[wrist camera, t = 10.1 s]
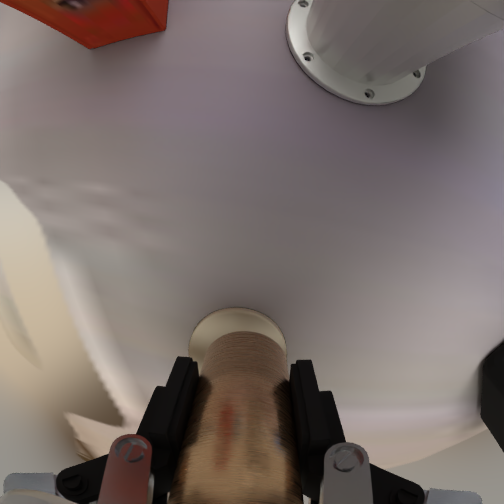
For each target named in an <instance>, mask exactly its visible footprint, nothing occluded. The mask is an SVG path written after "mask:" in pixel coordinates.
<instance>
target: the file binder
mask: <svg viewBox="0 0 504 504" xmlns="http://www.w3.org/2000/svg"><path fill="white" fill-rule="evenodd" d="M0 2H2V3H4V4H6V5H8V6H10V7H12V8H14V9H17V10H19V11H21V12H23V13H25V14H27V15H29V16H31V17H33V18H35V19H37V20H38V21H40V22H42V23H44V24H46V25H48V26H50V27H52V28H53V29H55V30H57V31H59V32H61V33H62V34H64V35H66V36H68V37H70V38H71V39H73V40H75V41H76V42H78V43H80V44H82V45H83V46H85V47H87V48H88V49H91V48H97V47H100V46H104V45H107V44H110V43H114V42H117V41H121V40H124V39H128V38H132V37H136V36H141V35H145V34H150V33H154V32H159V31H165V29H166V19H167V9H168V0H0Z"/></svg>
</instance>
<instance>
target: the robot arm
mask: <svg viewBox="0 0 504 504" xmlns="http://www.w3.org/2000/svg"><path fill="white" fill-rule="evenodd" d="M502 29H504V0H295V1H294V2H293V4H292V5H291V7H290V10H289V13H288V16H287V21H286V38H287V41H288V44H289V48H290V50H291V52H292V54H293V56H294V58H295V60H296V61H297V63H298V64H299V65H300V67H301V68H302V69H303V70H304V72H305V73H306V74H307V75H308V76H309V77H311V78H312V79H313V80H314V81H315V82H316V83H317V84H319V85H320V86H321V87H323V88H324V89H326V90H327V91H329V92H331V93H333V94H335V95H337V96H338V97H340V98H342V99H345V100H349V101H351V102H354V103H359V104H365V105H386V104H391V103H395V102H397V101H400V100H402V99H404V98H406V97H408V96H409V95H411V94H412V93H413V92H414V91H415V90H416V89H417V88H418V87H419V86H420V84H421V82H422V81H423V79H424V76H425V72H426V67H427V65H428V64H430V63H431V62H433V61H435V60H437V59H439V58H441V57H443V56H445V55H447V54H449V53H451V52H453V51H455V50H457V49H460V48H462V47H464V46H466V45H468V44H470V43H472V42H475V41H477V40H479V39H481V38H483V37H486V36H488V35H490V34H493V33H495V32H497V31H500V30H502ZM304 58H308V59H309V60H310V61H306V60H305V59H304ZM365 93H366V94H367V95H368V98H367V97H366V96H365ZM198 380H199V370H198V363H197V361H193V359H192V357H180V356H178V357H177V359H176V361H175V364H174V366H173V369H172V371H171V374H170V376H169V379H168V381H167V384H166V386H165V387H163V386H157V387H156V388H155V390H154V392H153V395H152V397H151V399H150V402H149V404H148V407H147V409H146V411H145V414H144V416H143V418H142V421H141V423H140V426H139V428H138V431H137V433H136V434H127V435H123V436H120V437H119V438H117V439H116V440H115V441H114V442H113V443H112V445H111V448H110V451H109V454H107V455H104V456H101V457H99V458H96V459H93V460H90V461H87V462H85V463H81V464H78V465H76V466H72V467H69V468H66V469H64V470H62V471H61V472H60V473H59V474H58V475H55V474H54V473H12V474H10V475H8V476H7V477H6V479H5V480H4V494H3V495H2V496H1V497H0V504H167V502H168V498H169V494H170V490H171V486H172V481H173V477H174V473H175V469H176V465H177V461H178V457H179V454H180V450H181V446H182V442H183V438H184V434H185V430H186V426H187V422H188V419H189V415H190V411H191V407H192V403H193V399H194V395H195V392H196V388H197V384H198ZM289 384H290V391H291V399H292V407H293V416H294V424H295V432H296V441H297V449H298V458H299V464H300V473H301V483H302V492H303V494H304V495H306V496H307V497H309V503H308V504H482V499H481V497H480V496H479V495H478V494H477V493H475V492H471V491H453V490H442V489H433V488H430V489H429V490H423V489H422V488H421V487H420V486H419V485H418V484H416V483H414V482H411V481H409V480H406V479H404V478H402V477H399V476H397V475H395V474H392V473H390V472H388V471H386V470H383V469H381V468H379V467H377V466H375V465H373V464H371V463H369V457H368V454H367V452H366V451H365V450H364V448H362V447H361V446H359V445H357V444H354V443H348V442H346V440H345V436H344V433H343V429H342V426H341V422H340V418H339V415H338V411H337V408H336V404H335V401H334V398H333V394H332V392H331V391H319V389H318V385H317V380H316V376H315V372H314V368H313V364H312V361H311V360H297V361H296V364H291V370H290V379H289Z"/></svg>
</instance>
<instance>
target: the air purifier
mask: <svg viewBox="0 0 504 504" xmlns="http://www.w3.org/2000/svg"><path fill="white" fill-rule="evenodd" d="M480 415H481V418H482V420H483V421H484V423H485V424H486V426H487V427H488V429H489V430H490V432H491V433H492V435H493V436H494V438H495V439H496V441H497V442H498V444H499V446H500V447H501V449H502V450H503V452H504V344H503V345H501V346H500V347H499V348H498V349H497V350H496V351H494V352H493V353H492V354H491V355H490V356H489V357H488V358H487V359H486V361H485V363H484V366H483V388H482V402H481V413H480Z"/></svg>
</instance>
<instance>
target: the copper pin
mask: <svg viewBox="0 0 504 504" xmlns="http://www.w3.org/2000/svg"><path fill="white" fill-rule="evenodd" d="M167 504H304V502H303V492H302V483H301V473H300V464H299V458H298V449H297V441H296V432H295V424H294V416H293V407H292V399H291V391H290V384H289V375H288V367H287V360H286V356H285V353H284V351H283V349H282V348H281V347H280V345H279V344H278V343H277V342H275V341H274V340H273V339H271V338H270V337H268V336H266V335H263V334H260V333H257V332H252V331H237V332H232V333H228V334H225V335H223V336H221V337H219V338H218V339H216V340H215V341H214V342H213V343H212V344H211V345H210V346H209V347H208V349H207V351H206V354H205V357H204V361H203V365H202V368H201V372H200V376H199V380H198V384H197V388H196V392H195V395H194V399H193V403H192V407H191V411H190V415H189V419H188V422H187V426H186V430H185V434H184V438H183V442H182V446H181V450H180V454H179V457H178V461H177V465H176V469H175V473H174V477H173V481H172V486H171V490H170V494H169V498H168V502H167Z"/></svg>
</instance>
